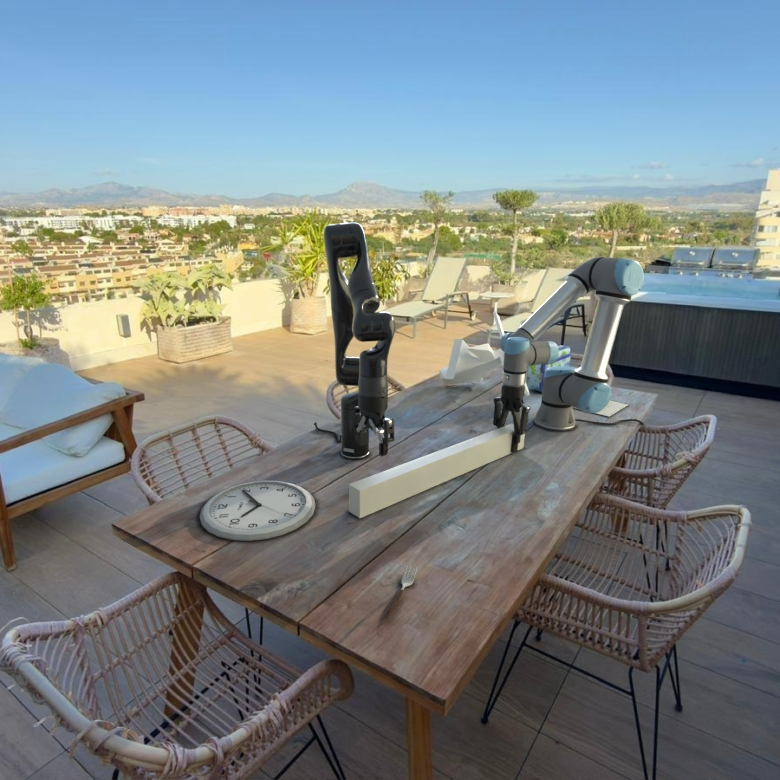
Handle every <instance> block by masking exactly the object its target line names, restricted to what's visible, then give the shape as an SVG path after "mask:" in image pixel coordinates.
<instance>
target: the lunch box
mask: <svg viewBox="0 0 780 780" xmlns="http://www.w3.org/2000/svg"><path fill="white" fill-rule="evenodd" d="M557 346H558V349H559V356H558V358H557V360H556V361H555V362H553V363H548V364H540V365H530V366H527V372H526V384H527V387H528V390H531V391H537V392H540V393H541V394H542V390H543V380H544V375H545V370H546V369H547V368H549V367H555V366H567V367H571V356H572V351H571V350H572V349H571V347H570V346H569V345H561V344H557Z"/></svg>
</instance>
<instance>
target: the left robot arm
mask: <svg viewBox="0 0 780 780" xmlns="http://www.w3.org/2000/svg"><path fill="white" fill-rule="evenodd" d="M323 245H324V254H325V258H326V259H325V260H326V267H327V274H328V282H329V295H330V297H329V298H330V311H331V322H332V329H333V330H332V331H333V339H334V369H335V379H336V382H337V383H338V384H339V385H341V386H351V387H358V389H356V390H354V391H352V392H348V393H346V394H343V395H342V396H341V398H340V432H339V434H338V433H337V432H335V431H333V430H327V429H322V428H319V427H318V423H317V422H316V421H315V422H314V423H313V425H314V427H315V429H316V430H317V431H319V432H321V433H327V434H331V435H335V437H336V441H337V443H340V446H341V447H340V448H341V449H340V455H341V456H342V457H343V458H345V459H349V460H360V459H365V458H367V457H368V456H369V455H370V430H371V431H372V432H373V433H374V435H375V436H377V439H378V441H379V443H378V456H380V457H385V456H387V455H388V454H389V443H392V442H394V441H395V419H394V418H387V417H386V411H387V410H388V407H389V378H388V361H389V360H388V359H389V353H390V350H391V346H392V343H393V339H394V336H395V333H396V321H395V318H394V316H393V315H392V314H391V312H388V311H378V310H379V308H380V307H381V300H380V297H379V293H378V290H377V287H376V285H375V282H374V278H373V274H372V268H371V261H370V256H369V255H370V254H369V249H368V245H367V239H366V234H365V231H364V229H363V227H362V225H361V224H360V223H358V222H344V223H343V222H342V223H334V224H327V225H326V226H325V227H324V229H323ZM351 258H356V262H355V264H354V266H353V269H352V270H351V273H350V274H349V277H348V279H347V277H346V275H345V274H344V272H343V270H342V269H341V267H340V264H339V261H340V260H341V259H351ZM353 339H356V340H357V341H359V342H361V343H362V342H363V343H367V342H368V343H369V342H376V344H375V345H374V346H373V347H371V348H368V349H365V350H362V351H361V352H360V353H359V356H347V350H348V348H349V346H350V345H351V342H352V340H353Z"/></svg>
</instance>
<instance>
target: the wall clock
mask: <svg viewBox="0 0 780 780" xmlns="http://www.w3.org/2000/svg"><path fill="white" fill-rule="evenodd" d="M315 501H316V500H315V498H314V496H313V495H312V493H310V492H309V491H308V490H307V489H305V488H303V487H302V486H300V485H297V484H294V483H291V482H288V481H287V482H286V481H281V480H256V481H249V482H243V483H240V484H236V485H234V486H231V487H228V488H226V489H224V490H221V491H220V492H218V493H216V494H215V495H214V496H212V497H211V498H210V499H208V500H207V501H206V502H205V504H204V505H203V507H201V509H200V514H199V521H200V523H201V526H202V527H203V528H204V529H205V530H206V531H207V532H208V533H209V534H211V535H213V536H216V537H217V538H220V539H221V538H222V539H227V540H230V541H241V542H243V541H244V542H246V541H247V542H251V541H252V542H253V541H261V540H268V539H272V538H277V537H279V536H283V535H286V534H288V533H290V532H293V531H295V530H297V529H298V528H300V527H301V526H303V525H305V524H306V523H307V522H308V521H309V520H310V519H311V518H312V516H313V515H314V513H315V510H316V502H315Z"/></svg>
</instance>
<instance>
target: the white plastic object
mask: <svg viewBox="0 0 780 780" xmlns="http://www.w3.org/2000/svg"><path fill="white" fill-rule="evenodd" d="M492 315H493V319H494V321H495V324H496V325H495V326H496V328H497V332H498V335H499V338H500V339H501V338H502V336H503V335H504V334H505V331H504V328H503V325H502V321H501V318H500V315H499V314H498V312H497V311H496V310H495V311H492ZM500 366H502V368H503V366H504V351H502V350H501V348H498V349H496V350H495V349H493V348H492V347H491V346H490V344H489V343H488V342H487V343H483V344H479V345H473V346H469V345H468V343H466V342H465V340H464V339H463V338H460V339H458V338H454V340H453V344H452V349H451V353H450V357H449V362H448V366H446V367H444V368H442V369H440V370H439V371H438V372H439V376H440V381H442V383H443V384H444V385H445V386H449V385H458V384H467V383H468V384H469V383H473V384H477V383H480V382H482V381H484V378H485V377H486V376H487V375H489V374H490V373H492V372H494V371H495V370H496V369H497V368H499V367H500ZM524 386H525V391H524V395H525V396H526V397H528V396H531V395H530V389H528V387H527V381H526V382H525V384H524Z"/></svg>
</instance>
